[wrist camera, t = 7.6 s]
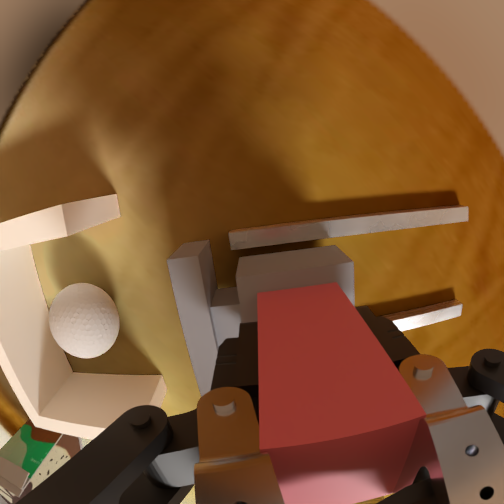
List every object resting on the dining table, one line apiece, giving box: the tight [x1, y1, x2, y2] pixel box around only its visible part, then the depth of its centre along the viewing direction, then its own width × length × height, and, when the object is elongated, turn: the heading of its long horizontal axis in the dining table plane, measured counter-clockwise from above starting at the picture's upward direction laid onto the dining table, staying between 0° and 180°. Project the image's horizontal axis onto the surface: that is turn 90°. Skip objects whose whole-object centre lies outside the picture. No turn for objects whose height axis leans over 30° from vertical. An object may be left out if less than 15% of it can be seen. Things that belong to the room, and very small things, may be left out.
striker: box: [167, 240, 427, 504], centre depth 9 cm, size 7×6×10 cm
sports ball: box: [49, 283, 119, 358], centre depth 14 cm, size 4×4×4 cm
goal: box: [0, 194, 167, 440], centre depth 13 cm, size 8×12×5 cm
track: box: [228, 205, 468, 331], centre depth 15 cm, size 13×7×1 cm, turn 98°
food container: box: [0, 419, 83, 504], centre depth 14 cm, size 12×6×10 cm, turn 164°
